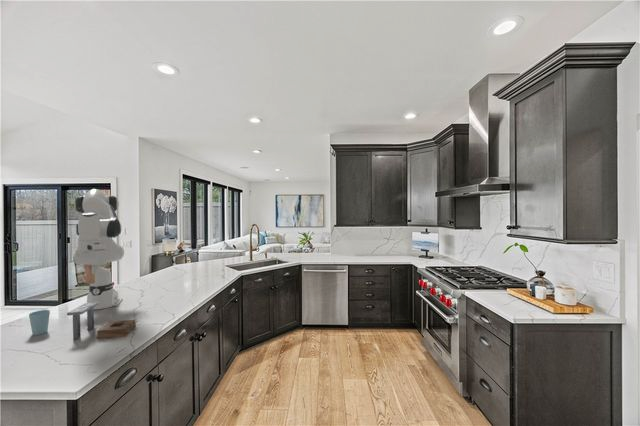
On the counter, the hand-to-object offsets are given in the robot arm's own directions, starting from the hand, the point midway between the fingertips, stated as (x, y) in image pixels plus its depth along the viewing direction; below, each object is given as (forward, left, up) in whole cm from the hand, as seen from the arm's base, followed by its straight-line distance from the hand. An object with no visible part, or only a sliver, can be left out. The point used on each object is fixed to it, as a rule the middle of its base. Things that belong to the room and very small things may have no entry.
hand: (90, 273), depth 146 cm
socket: (+1, +12, -30) cm, 32 cm away
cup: (-9, -27, -30) cm, 42 cm away
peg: (0, 0, -5) cm, 5 cm away
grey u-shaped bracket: (-2, -4, -30) cm, 30 cm away
